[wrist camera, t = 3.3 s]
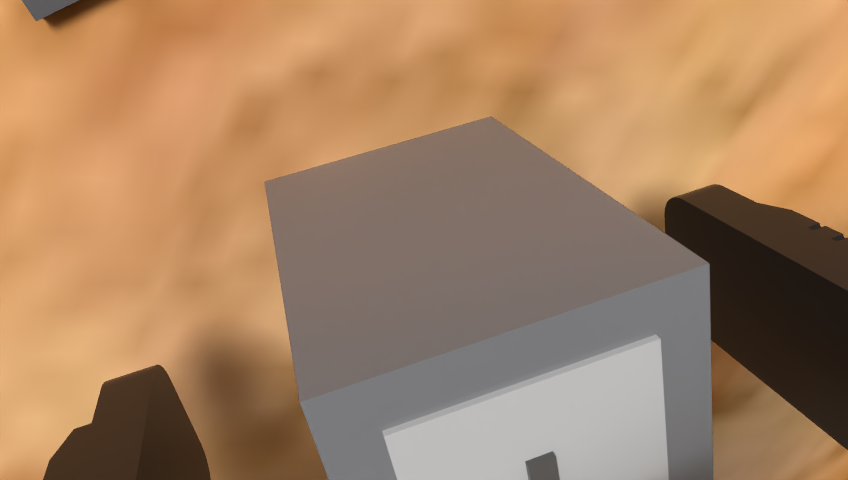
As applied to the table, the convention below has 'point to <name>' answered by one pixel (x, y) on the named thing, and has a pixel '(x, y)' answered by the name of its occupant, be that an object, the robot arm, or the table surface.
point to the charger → (489, 318)
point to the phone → (46, 7)
